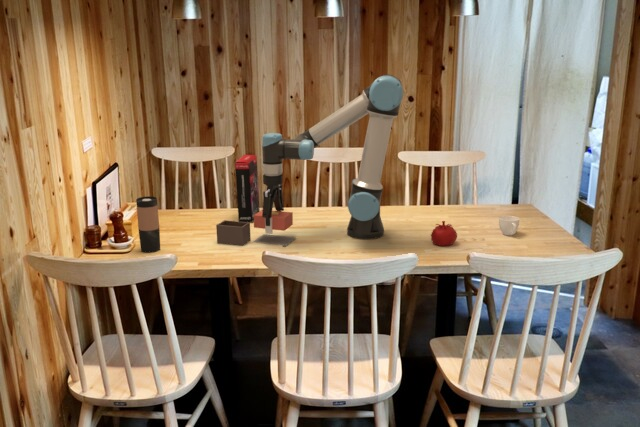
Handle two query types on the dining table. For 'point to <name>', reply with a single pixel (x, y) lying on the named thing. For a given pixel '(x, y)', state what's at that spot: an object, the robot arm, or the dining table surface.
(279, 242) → the mat
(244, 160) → the graphics card box
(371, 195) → the robot arm
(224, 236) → the lacquer box
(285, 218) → the lid
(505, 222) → the cup
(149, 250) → the travel mug
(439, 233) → the pomegranate
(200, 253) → the dining table surface
